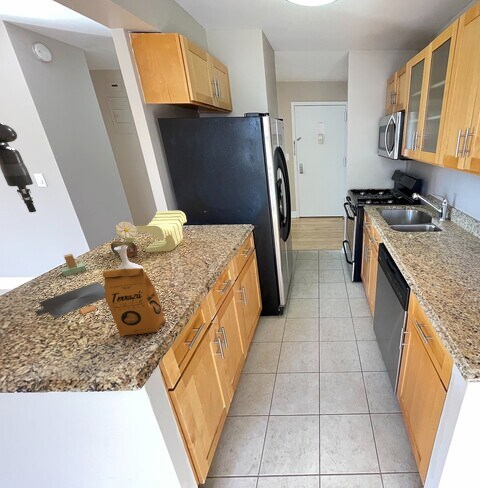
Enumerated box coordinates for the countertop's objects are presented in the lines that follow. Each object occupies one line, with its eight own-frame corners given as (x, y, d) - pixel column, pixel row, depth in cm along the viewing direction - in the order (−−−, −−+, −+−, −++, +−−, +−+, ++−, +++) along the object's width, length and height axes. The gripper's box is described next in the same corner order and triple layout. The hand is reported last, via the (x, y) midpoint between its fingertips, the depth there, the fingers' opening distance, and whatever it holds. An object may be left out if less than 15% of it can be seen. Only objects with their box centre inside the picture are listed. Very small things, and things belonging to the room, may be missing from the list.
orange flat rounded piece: (83, 317, 91) (81, 314, 90) (81, 313, 93) (79, 309, 93) (97, 312, 94) (96, 308, 93) (95, 307, 96) (93, 304, 96)
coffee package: (157, 336, 82) (138, 275, 74) (114, 340, 81) (90, 278, 72) (170, 316, 91) (154, 260, 83) (132, 320, 90) (112, 263, 82)
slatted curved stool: (169, 256, 138) (161, 225, 132) (137, 258, 137) (127, 226, 130) (190, 237, 166) (184, 210, 159) (163, 238, 164) (157, 211, 158)
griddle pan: (46, 325, 87) (45, 322, 87) (30, 308, 96) (29, 305, 96) (123, 293, 106) (123, 290, 105) (104, 281, 114) (103, 279, 114)
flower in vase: (116, 284, 112) (98, 229, 103) (111, 275, 120) (93, 223, 110) (151, 273, 121) (136, 222, 112) (144, 265, 128) (130, 217, 119)
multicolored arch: (112, 255, 140) (107, 240, 137) (118, 253, 143) (113, 238, 140) (135, 258, 137) (130, 243, 134) (140, 255, 140) (136, 241, 137)
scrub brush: (64, 276, 119) (56, 259, 115) (62, 273, 122) (55, 256, 118) (86, 270, 124) (80, 254, 121) (84, 267, 127) (78, 251, 124)
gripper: (3, 173, 114) (19, 209, 120) (3, 176, 106) (21, 214, 112) (27, 172, 120) (42, 206, 126) (30, 174, 111) (45, 211, 117)
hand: (32, 210), depth 119 cm, fingers open, 8 cm apart
